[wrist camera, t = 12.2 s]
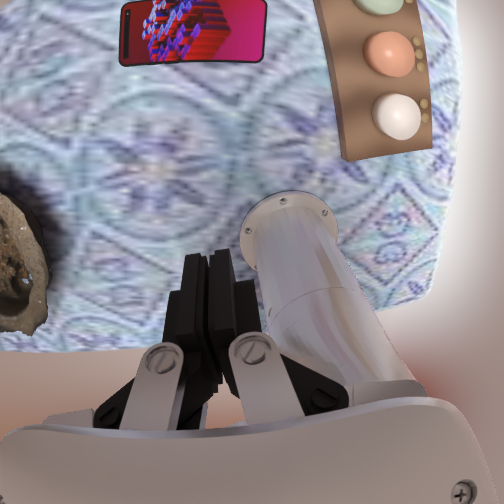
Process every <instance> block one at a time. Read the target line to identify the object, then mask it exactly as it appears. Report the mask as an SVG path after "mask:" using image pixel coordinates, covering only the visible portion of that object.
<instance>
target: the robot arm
mask: <svg viewBox="0 0 504 504" xmlns="http://www.w3.org/2000/svg"><path fill="white" fill-rule="evenodd" d="M282 198H284V199H283V200H280V199H282ZM323 210H324V211H323ZM247 228H249V229H247ZM337 238H338V226H337V221H336V218H335V216H334V214H333V212H332V211H331V209H330V208H329V207H328V206H327V205H326V203H325V202H324V201H322V200H321V199H319V198H318V197H316V196H314V195H312V194H309V193H306V192H300V191H286V192H281V193H277V194H274V195H271V196H269V197H267V198H265V199H264V200H262V201H260V202H259V203H258V204H257V205H256V206H254V207H253V208H252V209H251V211H250V212H249V213H248V214H247V216H246V217H245V219H244V221H243V223H242V226H241V230H240V240H239V241H240V249H241V252H242V255H243V257H244V259H245V261H246V262H247V264H248V265H249V266H250V267H251V268H252V269H253V270H255V271H256V272H257V273H258V277H259V283H260V288H261V294H262V299H263V305H264V310H265V316H266V321H267V327H268V332H269V335H267V334H264V333H262V330H261V323H260V317H259V310H258V304H257V298H256V291H255V285H254V279H252V280H245V281H239V282H236V280H235V275H234V270H233V265H232V260H231V255H230V250H229V248H228V249H222V250H216V251H215V255H210V262H209V265H208V261H207V257H206V256H202V257H201V254H200V253H196V254H190V255H186V256H185V261H184V268H183V275H182V282H181V290H176V291H171V292H170V294H169V300H168V306H167V312H166V319H165V325H164V332H163V339H162V343H159V344H156V345H153V346H152V347H150V348H149V349H148V350H147V351H146V352H145V353H144V355H143V357H142V359H141V362H140V365H139V367H138V370H137V373H136V377H135V378H133V379H132V380H131V381H130V382H129V383H127V384H126V385H125V386H124V387H122V388H121V389H120V390H119V391H118V392H116V393H115V394H114V395H113V396H111V397H110V398H109V399H108V400H106V401H105V402H104V403H103V404H102V405H100V407H99V408H98V409H97V410H95V411H94V410H93V409H92V408H91V409H86V410H80V411H74V412H68V413H61V414H54V415H51V416H48V417H47V418H46V419H45V420H44V421H43V423H42V424H35V425H28V426H24V427H20V428H17V429H14V430H12V431H10V432H9V433H7V434H6V435H5V436H4V437H3V438H2V440H1V442H0V504H499V500H498V497H497V493H496V490H495V487H494V484H493V480H492V477H491V474H490V471H489V468H488V465H487V463H486V460H485V457H484V455H483V452H482V450H481V448H480V445H479V443H478V441H477V439H476V437H475V435H474V433H473V431H472V429H471V427H470V425H469V423H468V422H467V420H466V419H465V417H464V416H463V414H461V412H460V411H459V410H458V409H457V408H456V407H455V406H454V405H453V404H451V403H449V402H447V401H444V400H441V399H436V398H431V397H428V396H427V392H426V390H425V388H424V386H423V385H422V384H421V383H419V382H417V381H416V379H415V378H414V377H413V375H412V374H411V372H410V371H409V369H408V368H407V366H406V365H405V364H404V362H403V361H402V359H401V358H400V356H399V355H398V353H397V352H396V350H395V348H394V347H393V345H392V343H391V342H390V340H389V338H388V336H387V334H386V333H385V331H384V329H383V327H382V325H381V324H380V322H379V320H378V318H377V316H376V314H375V312H374V311H373V309H372V307H371V305H370V303H369V301H368V300H367V298H366V296H365V294H364V292H363V290H362V288H361V286H360V284H359V282H358V281H357V279H356V277H355V275H354V273H353V272H352V270H351V268H350V266H349V265H348V263H347V261H346V259H345V258H344V256H343V254H342V252H341V251H340V249H339V247H338V245H337V244H336V242H337ZM222 372H223V374H222ZM223 375H224V377H225V380H226V383H228V385H229V388H230V391H231V393H232V394H233V395H235V396H236V397H238V398H239V399H240V400H241V404H242V407H243V411H244V414H245V418H246V419H245V420H243V421H240V422H237V423H234V424H232V425H229V426H227V427H225V428H214V429H204V428H205V421H206V414H207V409H208V403H207V401H208V400H209V399H210V398H211V397H212V396H213V393H218V384H223Z"/></svg>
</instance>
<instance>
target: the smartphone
mask: <svg viewBox="0 0 504 504" xmlns="http://www.w3.org/2000/svg"><path fill="white" fill-rule="evenodd" d="M266 19H267V3H266V1H265V0H141V1H133V2H128V3H126V4H124V5H123V7H122V8H121V15H120V32H119V63H120V64H121V65H122V66H124V67H129V66H138V65H156V64H162V63H165V64H171V63H180V62H239V63H258V62H260V61H261V60H262V59H263V57H264V46H265V33H266Z"/></svg>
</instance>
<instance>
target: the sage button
mask: <svg viewBox="0 0 504 504" xmlns="http://www.w3.org/2000/svg"><path fill="white" fill-rule="evenodd" d="M353 1H354V3H355V4H356V5H357V6H358V7H359V8H360V9H361V10H362V11H364V12H365V13H367V14H370V15H374V16H381V15H386V14H391V13H395V12H397V11H399V10H400V9H401V7H402V5H403V1H404V0H353Z"/></svg>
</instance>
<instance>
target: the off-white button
mask: <svg viewBox="0 0 504 504" xmlns="http://www.w3.org/2000/svg"><path fill="white" fill-rule="evenodd" d="M372 116H373V121H374V123H375V125H376V127H377V128H378V129H379V130H380V131H381V132H383V133H385V134H387V135H389V136H391V137H392V138H394V139H397V140H406V139H409V138H411V137H412V136H413V135H414V134H415V133H416V132H417V130H418V129H419V126H420V122H421V113H420V109H419V107H418V105H417V103H416V102H415V101H414V100H413V99H411V98H410V97H408V96H404V95H401V94H397V93H392V92H389V93H385V94H383V95H381V96H380V97H379V98H378V99H377V100H376V101H375V103H374V106H373V110H372Z"/></svg>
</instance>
